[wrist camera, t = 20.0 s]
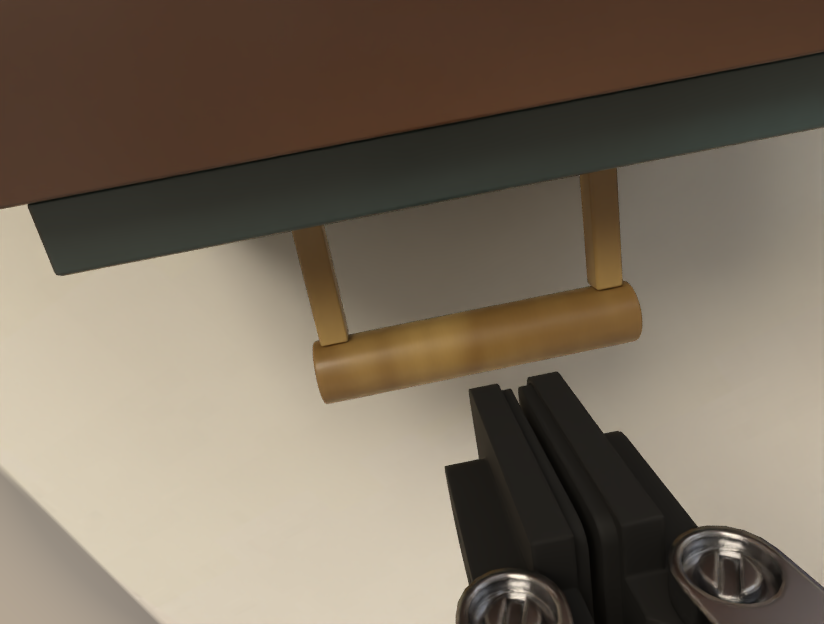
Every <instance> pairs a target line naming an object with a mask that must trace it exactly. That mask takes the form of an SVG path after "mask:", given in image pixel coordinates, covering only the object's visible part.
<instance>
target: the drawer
mask: <svg viewBox="0 0 824 624" xmlns="http://www.w3.org/2000/svg"><path fill="white" fill-rule="evenodd" d="M823 127H824V52H822V53H816V54H811V55H806V56H801V57H795V58H790V59H785V60H780V61H774V62H769V63H764V64H759V65H753V66H748V67H743V68H738V69H732V70H727V71H722V72H717V73H712V74H706V75H701V76H696V77H691V78H685V79H680V80H675V81H670V82H664V83H659V84H654V85H649V86H643V87H638V88H633V89H628V90H622V91H617V92H612V93H607V94H601V95H596V96H591V97H586V98H581V99H575V100H570V101H565V102H560V103H554V104H549V105H544V106H539V107H533V108H528V109H523V110H518V111H512V112H507V113H502V114H497V115H491V116H486V117H481V118H476V119H470V120H465V121H460V122H455V123H450V124H444V125H439V126H434V127H429V128H423V129H418V130H413V131H408V132H402V133H397V134H392V135H387V136H381V137H376V138H371V139H366V140H360V141H355V142H350V143H345V144H339V145H334V146H329V147H324V148H319V149H313V150H308V151H303V152H298V153H292V154H287V155H282V156H277V157H271V158H266V159H261V160H256V161H250V162H245V163H240V164H235V165H229V166H224V167H219V168H214V169H208V170H203V171H198V172H193V173H188V174H182V175H177V176H172V177H167V178H161V179H156V180H151V181H146V182H140V183H135V184H130V185H125V186H119V187H114V188H109V189H104V190H98V191H93V192H88V193H83V194H77V195H72V196H67V197H62V198H57V199H51V200H46V201H41V202H36V203H30V204H28V209H29V211H30V214H31V216H32V219H33V221H34V223H35V226H36V228H37V231H38V233H39V236H40V238H41V241H42V243H43V245H44V248H45V250H46V253H47V255H48V258H49V260H50V263H51V265H52V267H53V270H54V272H55V274H56V275H60V276H64V275H70V274H75V273H80V272H85V271H90V270H95V269H100V268H105V267H111V266H116V265H121V264H126V263H131V262H136V261H141V260H146V259H152V258H157V257H162V256H167V255H172V254H177V253H182V252H188V251H193V250H198V249H203V248H208V247H213V246H218V245H223V244H229V243H234V242H239V241H244V240H249V239H254V238H259V237H264V236H270V235H275V234H280V233H285V232H290V231H292V234H293V238H294V242H295V246H296V250H297V254H298V258H299V262H300V266H301V270H302V274H303V278H304V282H305V286H306V290H307V294H308V297H309V301H310V305H311V309H312V313H313V317H314V321H315V325H316V329H317V333H318V337H319V341H315V342H314V344H313V361H314V369H315V374H316V379H317V383H318V387H319V391H320V394H321V397H322V399H323V401H324V402H325V403H326V404H330V403H335V402H340V401H345V400H350V399H355V398H360V397H365V396H370V395H374V394H379V393H384V392H389V391H394V390H399V389H404V388H409V387H413V386H418V385H423V384H428V383H433V382H438V381H443V380H448V379H453V378H457V377H462V376H467V375H472V374H477V373H482V372H487V371H492V370H497V369H501V368H506V367H511V366H516V365H521V364H526V363H531V362H536V361H540V360H545V359H550V358H555V357H560V356H565V355H570V354H575V353H580V352H584V351H589V350H594V349H599V348H604V347H609V346H614V345H619V344H624V343H628V342H633V341H636V340H637V339H639V337H640V335H641V332H642V313H641V308H640V304H639V301H638V298H637V295H636V293H635V291H634V290H633V288H632V287H631V285H630V284H629V283H628V282H626V281H624V280H623V279H622V260H621V241H620V222H619V202H618V183H617V168H618V167H623V166H629V165H634V164H639V163H644V162H649V161H654V160H659V159H664V158H670V157H675V156H680V155H685V154H690V153H695V152H700V151H705V150H711V149H716V148H721V147H726V146H731V145H736V144H741V143H746V142H752V141H757V140H762V139H767V138H772V137H777V136H782V135H787V134H793V133H798V132H803V131H808V130H813V129H818V128H823ZM577 175H580V187H581V201H582V214H583V228H584V241H585V255H586V268H587V281H588V284H590V285H591V286H588V287H583V288H578V289H573V290H568V291H563V292H558V293H553V294H548V295H543V296H538V297H533V298H528V299H523V300H518V301H513V302H508V303H503V304H498V305H493V306H488V307H483V308H478V309H473V310H468V311H464V312H459V313H454V314H449V315H444V316H439V317H434V318H429V319H424V320H419V321H414V322H409V323H404V324H399V325H394V326H389V327H384V328H379V329H374V330H369V331H364V332H359V333H354V334H349V335H348V332H349V330H348V326H347V322H346V317H345V313H344V309H343V304H342V300H341V296H340V292H339V287H338V283H337V279H336V274H335V270H334V266H333V261H332V257H331V253H330V249H329V244H328V240H327V236H326V231H325V227H324V225H326V224H331V223H336V222H341V221H346V220H352V219H357V218H362V217H367V216H372V215H377V214H382V213H388V212H393V211H398V210H403V209H408V208H413V207H418V206H423V205H429V204H434V203H439V202H444V201H449V200H454V199H459V198H464V197H470V196H475V195H480V194H485V193H490V192H495V191H500V190H505V189H511V188H516V187H521V186H526V185H531V184H536V183H541V182H546V181H552V180H557V179H562V178H567V177H572V176H577Z"/></svg>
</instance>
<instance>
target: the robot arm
mask: <svg viewBox="0 0 824 624" xmlns="http://www.w3.org/2000/svg"><path fill="white" fill-rule="evenodd" d="M518 395H519V403H518V401H517V399H516V397H515V395H514V394H513V392H512V390H511V389H506V390H501V388H500V386H499V385H498V384H492V385H487V386H482V387H477V388H472V389H469V397H470V404H471V411H472V417H473V423H474V430H475V436H476V442H477V449H478V455H479V459H478V460H473V461H468V462H463V463H458V464H453V465H448V466H445V473H446V478H447V484H448V489H449V495H450V500H451V505H452V510H453V515H454V520H455V525H456V530H457V535H458V539H459V544H460V548H461V553H462V557H463V561H464V565H465V570H466V574H467V578H468V583H469V586H468V587H467V588H465V590H464V592H463V594H462V596H461V597H460V599H459V601H458V605H457V611H456V624H824V587H822V586H821V585H820V584H819V583H818V582H817V581H815V580H814V579H813V578H812V577H811V576H809V575H808V574H807V573H806V572H805V571H804V570H802V569H801V568H800V567H799V566H798V565H797V564H795V563H794V562H793V561H792V560H791V559H789V558H788V557H787V556H786V555H785V554H784V553H782V552H781V551H780V550H779V549H778V548H776V547H775V546H773V545H772V544H770V543H769V542H767V541H766V540H764V539H763V538H761V537H759V536H756V535H754V534H752V533H749V532H747V531H745V530H741V529H736V528H732V527H727V526H702V527H698V526H697V525H696V524H695V523H694V521H693V520H692V519H691V518H690V516H689V515H688V514H687V513H686V511H685V510H684V509H683V508H682V506H681V505H680V504H679V502H678V501H677V500H676V499H675V497H674V496H673V495H672V494H671V492H670V491H669V490H668V489H667V487H666V486H665V485H664V484H663V482H662V481H661V480H660V479H659V477H658V476H657V475H656V473H655V472H654V471H653V470H652V468H651V467H650V466H649V465H648V463H647V462H646V461H645V460H644V458H643V457H642V456H641V455H640V453H639V452H638V451H637V450H636V448H635V447H634V446H633V444H632V443H631V442H630V441H629V439H628V438H627V437H626V436H625V435H624V434H623V433H622V432H619V431H615V432H610V433H605V434H603V432H602V431H601V429H600V428H599V427H598V425H597V424H596V423H595V421H594V420H593V419H592V417H591V416H590V414H589V413H588V412H587V410H586V409H585V408H584V406H583V405H582V404H581V402H580V401H579V399H578V398H577V397H576V395H575V394H574V393H573V391H572V390H571V389H570V387H569V386H568V384H567V383H566V382H565V380H564V379H563V378H562V376H561V375H560V374H559V373H558V372H552V373H547V374H542V375H537V376H532V377H528V379H527V385H526V386H521V387H519V388H518ZM519 404H520V405H519Z"/></svg>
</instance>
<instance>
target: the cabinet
mask: <svg viewBox="0 0 824 624" xmlns="http://www.w3.org/2000/svg"><path fill="white" fill-rule="evenodd" d="M822 52H824V0H0V209H4V208H9V207H15V206H20V205H25V204H30V203H36V202H41V201H46V200H51V199H57V198H62V197H67V196H72V195H77V194H83V193H88V192H93V191H98V190H104V189H109V188H114V187H119V186H125V185H130V184H135V183H140V182H146V181H151V180H156V179H161V178H167V177H172V176H177V175H182V174H188V173H193V172H198V171H203V170H208V169H214V168H219V167H224V166H229V165H235V164H240V163H245V162H250V161H256V160H261V159H266V158H271V157H277V156H282V155H287V154H292V153H298V152H303V151H308V150H313V149H319V148H324V147H329V146H334V145H339V144H345V143H350V142H355V141H360V140H366V139H371V138H376V137H381V136H387V135H392V134H397V133H402V132H408V131H413V130H418V129H423V128H429V127H434V126H439V125H444V124H450V123H455V122H460V121H465V120H470V119H476V118H481V117H486V116H491V115H497V114H502V113H507V112H512V111H518V110H523V109H528V108H533V107H539V106H544V105H549V104H554V103H560V102H565V101H570V100H575V99H581V98H586V97H591V96H596V95H601V94H607V93H612V92H617V91H622V90H628V89H633V88H638V87H643V86H649V85H654V84H659V83H664V82H670V81H675V80H680V79H685V78H691V77H696V76H701V75H706V74H712V73H717V72H722V71H727V70H732V69H738V68H743V67H748V66H753V65H759V64H764V63H769V62H774V61H780V60H785V59H790V58H795V57H801V56H806V55H811V54H816V53H822Z"/></svg>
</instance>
